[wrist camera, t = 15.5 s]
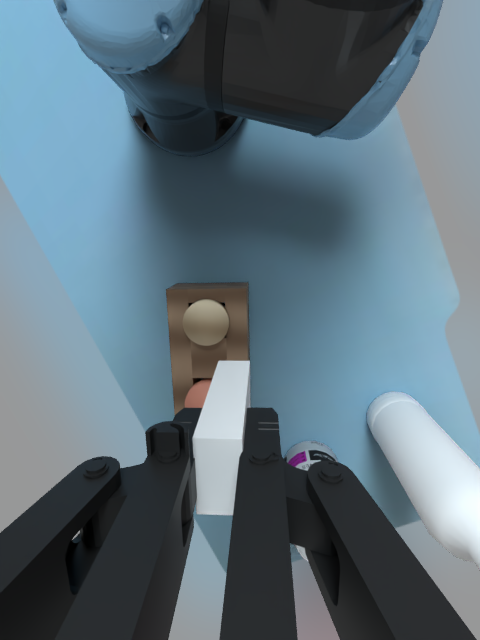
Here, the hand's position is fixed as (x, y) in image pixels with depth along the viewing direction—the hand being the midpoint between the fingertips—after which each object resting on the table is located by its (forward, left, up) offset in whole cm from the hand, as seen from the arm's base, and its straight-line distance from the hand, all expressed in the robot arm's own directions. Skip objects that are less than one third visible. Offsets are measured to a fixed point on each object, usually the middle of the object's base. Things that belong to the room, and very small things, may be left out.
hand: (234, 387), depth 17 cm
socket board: (+13, -6, -34) cm, 36 cm away
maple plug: (+3, -6, -32) cm, 33 cm away
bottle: (+19, +20, -34) cm, 44 cm away
